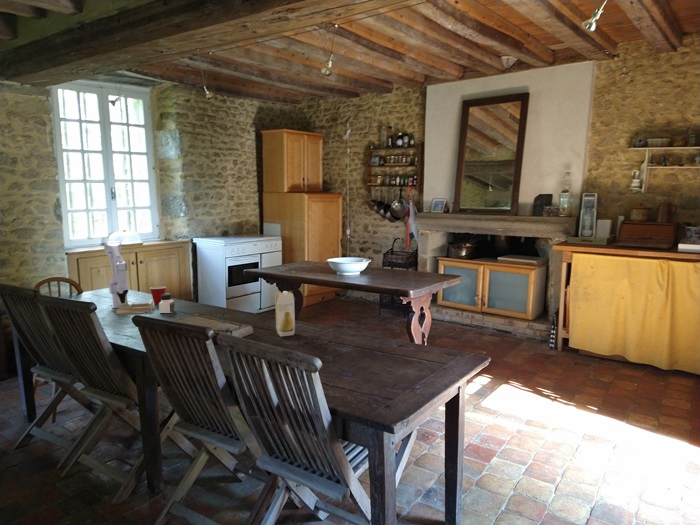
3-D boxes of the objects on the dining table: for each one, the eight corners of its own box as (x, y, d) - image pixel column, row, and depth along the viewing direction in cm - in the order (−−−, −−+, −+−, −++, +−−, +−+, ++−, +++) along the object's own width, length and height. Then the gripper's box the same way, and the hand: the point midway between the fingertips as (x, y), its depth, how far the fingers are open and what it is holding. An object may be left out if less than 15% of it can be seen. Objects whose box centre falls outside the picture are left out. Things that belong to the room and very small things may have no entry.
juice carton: (279, 337, 258) (277, 293, 254) (275, 333, 265) (274, 290, 261) (296, 335, 262) (295, 291, 258) (291, 331, 269) (290, 288, 265)
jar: (119, 304, 314) (118, 294, 313) (128, 303, 315) (127, 293, 314) (118, 306, 309) (117, 295, 308) (127, 305, 310) (126, 294, 309)
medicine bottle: (170, 314, 307) (169, 295, 305) (159, 314, 307) (158, 295, 305) (174, 311, 314) (173, 292, 312) (163, 311, 314) (162, 292, 313)
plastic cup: (167, 301, 340) (166, 284, 338) (167, 305, 330) (166, 287, 328) (151, 302, 337) (149, 285, 335) (150, 306, 327) (148, 288, 325)
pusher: (131, 308, 318) (131, 301, 317) (133, 308, 319) (133, 301, 318) (129, 311, 309) (129, 304, 309) (131, 311, 310) (131, 304, 309)
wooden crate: (120, 310, 318) (119, 301, 317) (152, 307, 323) (152, 299, 322) (116, 314, 306) (116, 306, 305) (151, 312, 312) (150, 303, 311)
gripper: (117, 279, 316) (118, 300, 318) (113, 283, 302) (114, 305, 304) (128, 279, 318) (130, 299, 320) (125, 283, 304) (127, 304, 306)
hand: (123, 302), depth 312 cm, fingers closed on jar, 5 cm apart
